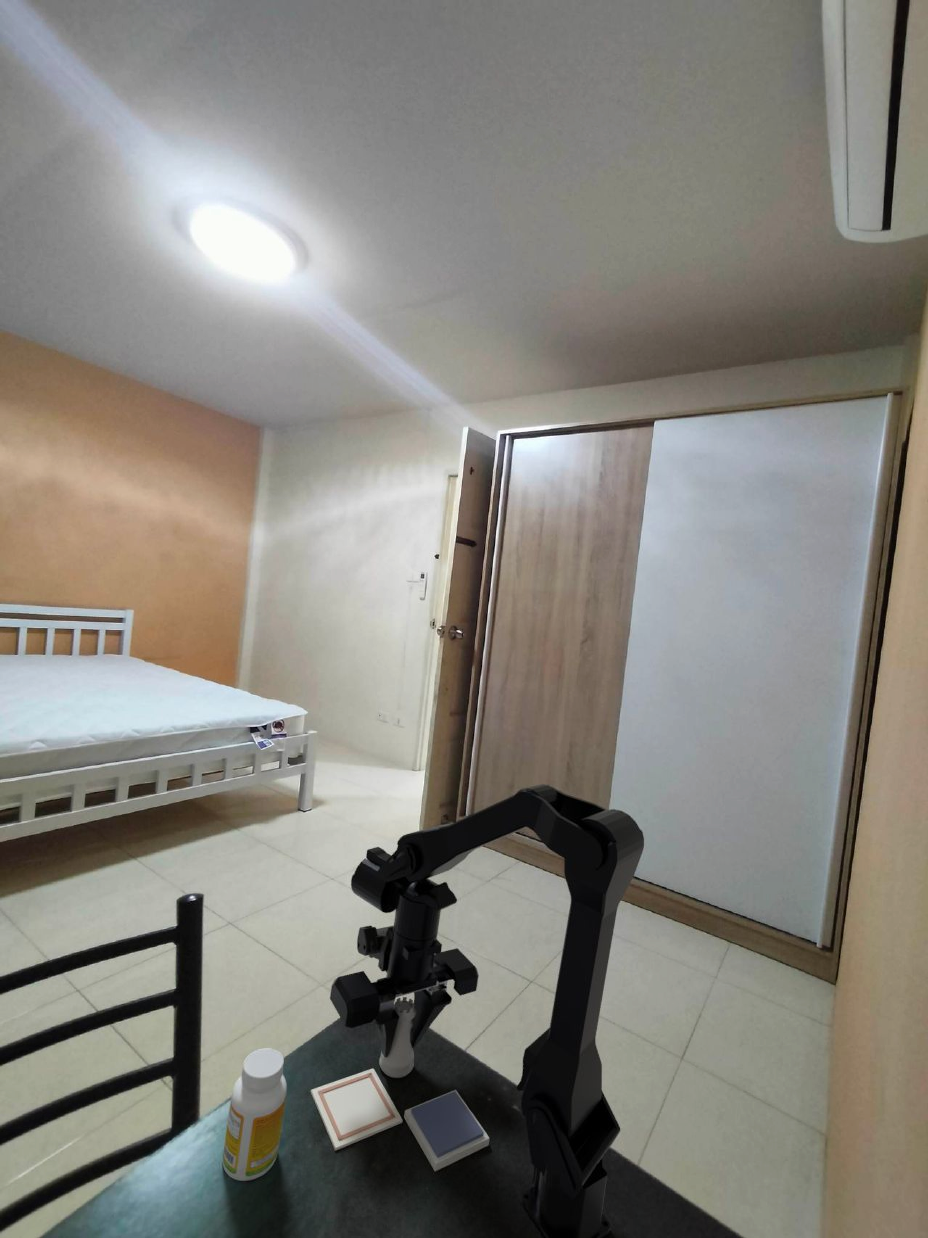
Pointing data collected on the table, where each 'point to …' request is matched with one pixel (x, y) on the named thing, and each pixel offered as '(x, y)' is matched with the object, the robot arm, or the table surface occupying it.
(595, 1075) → the robot arm
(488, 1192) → the table surface
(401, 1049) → the rook chess piece
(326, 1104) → the marked square board
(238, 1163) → the supplement bottle
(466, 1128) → the ink pad
